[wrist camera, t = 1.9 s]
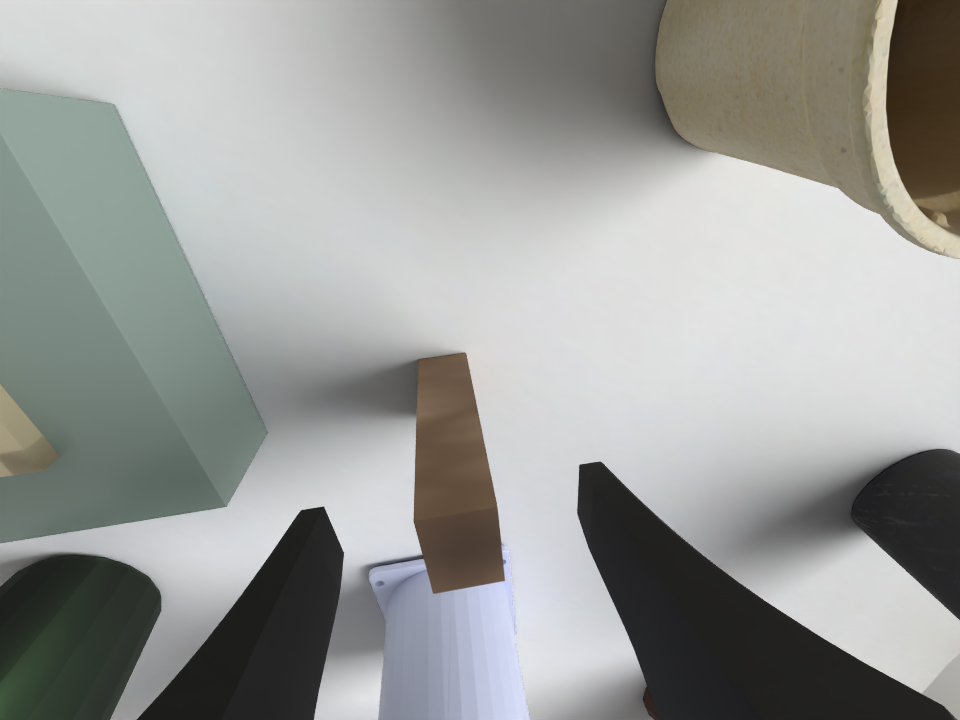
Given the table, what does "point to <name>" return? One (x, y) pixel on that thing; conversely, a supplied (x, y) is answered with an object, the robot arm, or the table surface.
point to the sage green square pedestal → (103, 337)
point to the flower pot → (827, 98)
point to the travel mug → (918, 520)
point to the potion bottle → (72, 637)
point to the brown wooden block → (453, 481)
